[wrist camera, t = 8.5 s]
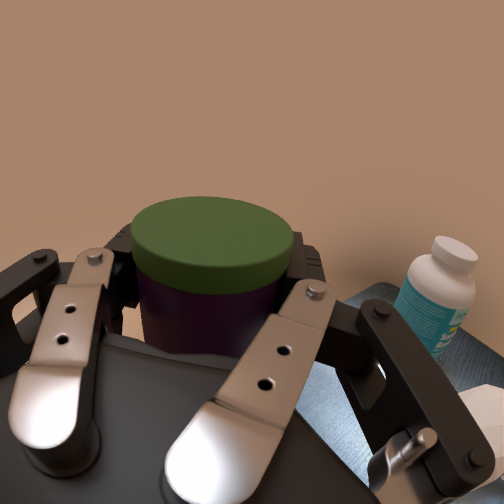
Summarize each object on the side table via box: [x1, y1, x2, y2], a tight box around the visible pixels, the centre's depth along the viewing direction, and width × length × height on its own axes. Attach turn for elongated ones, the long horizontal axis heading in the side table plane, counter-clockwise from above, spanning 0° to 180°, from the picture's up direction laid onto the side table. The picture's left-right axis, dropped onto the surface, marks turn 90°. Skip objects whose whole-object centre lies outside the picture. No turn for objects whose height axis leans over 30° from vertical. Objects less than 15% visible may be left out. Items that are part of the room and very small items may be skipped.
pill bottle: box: [393, 236, 478, 363], centre depth 26 cm, size 8×7×14 cm
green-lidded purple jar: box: [130, 196, 294, 358], centre depth 11 cm, size 5×5×9 cm
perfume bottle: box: [458, 384, 504, 492], centre depth 14 cm, size 9×9×12 cm
